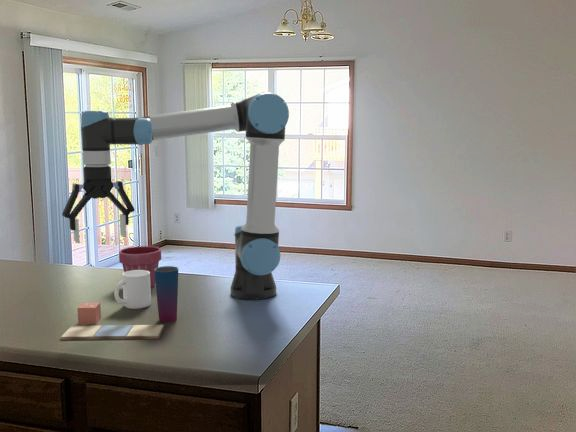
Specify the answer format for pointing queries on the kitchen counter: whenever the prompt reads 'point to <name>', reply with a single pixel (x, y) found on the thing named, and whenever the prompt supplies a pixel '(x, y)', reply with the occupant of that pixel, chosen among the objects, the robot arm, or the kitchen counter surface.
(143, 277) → the mug
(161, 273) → the cup
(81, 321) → the die
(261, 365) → the kitchen counter surface
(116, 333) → the multicoloured flat piece
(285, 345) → the kitchen counter surface
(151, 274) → the plant pot
